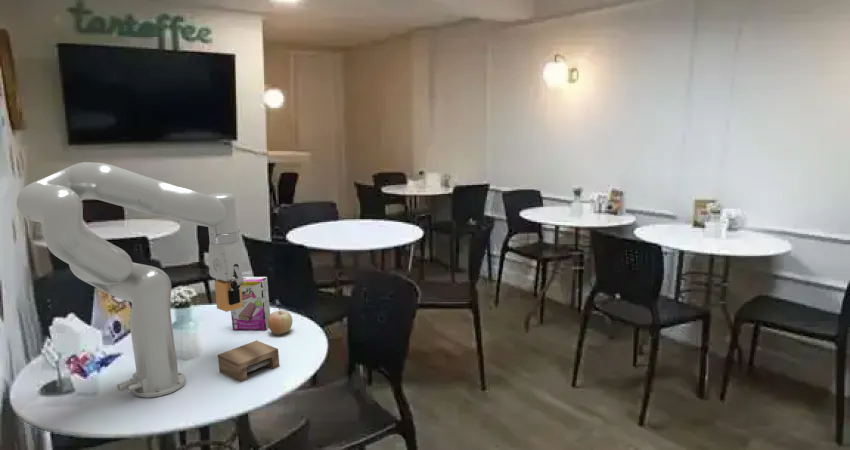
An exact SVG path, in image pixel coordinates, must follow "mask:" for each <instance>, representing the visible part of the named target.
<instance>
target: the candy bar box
mask: <svg viewBox="0 0 850 450" xmlns="http://www.w3.org/2000/svg"><path fill="white" fill-rule="evenodd" d="M242 277H243V279H244V281H243V282H242V284H241V294H242V308H238V309H235V310H231V311H230V314H231V315H230V317H231V324H232V325H231V326H232V330H233V331H267V330H268V329H270V328H269V326H268V317H269V315H270V314H271V308H270V297H269V295H270V293H269V282H268V281H269V280H268V277H267V276H242ZM232 278H235V277H232Z"/></svg>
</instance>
